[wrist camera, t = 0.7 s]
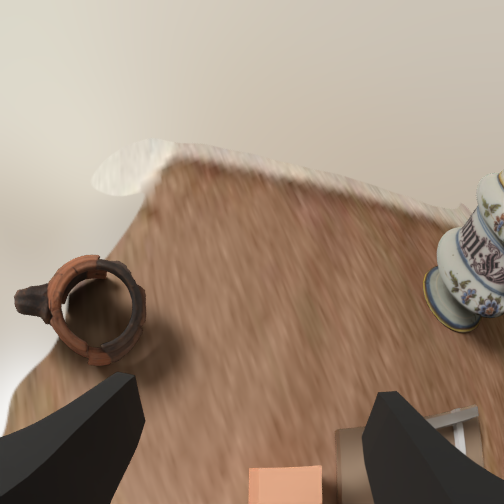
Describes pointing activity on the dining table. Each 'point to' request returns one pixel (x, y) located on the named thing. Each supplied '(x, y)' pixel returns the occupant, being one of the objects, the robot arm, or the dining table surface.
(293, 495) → the terracotta block
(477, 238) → the apothecary jar
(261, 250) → the dining table surface
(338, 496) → the track board
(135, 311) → the pottery mug
